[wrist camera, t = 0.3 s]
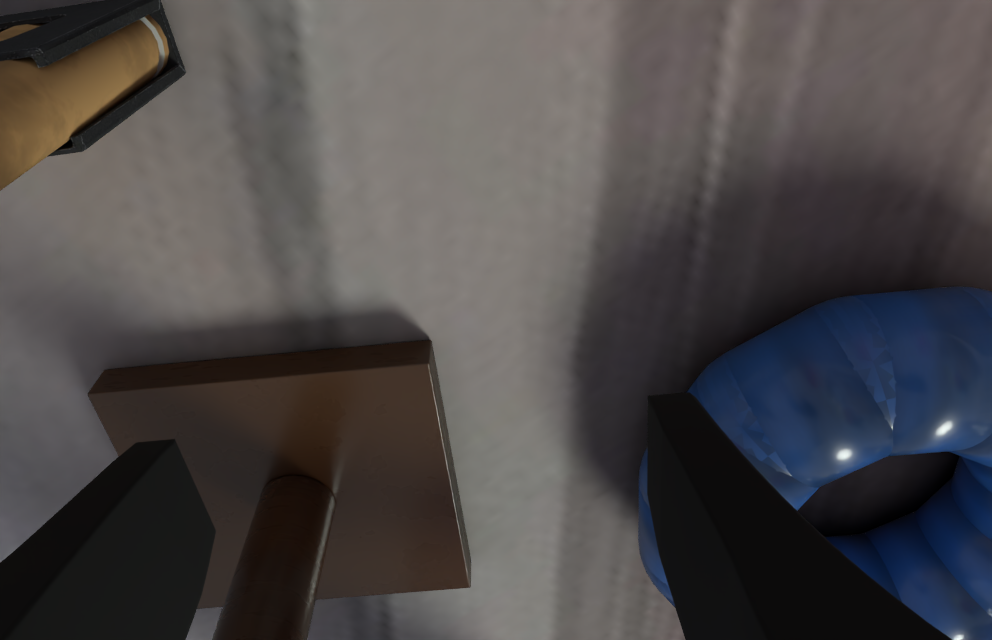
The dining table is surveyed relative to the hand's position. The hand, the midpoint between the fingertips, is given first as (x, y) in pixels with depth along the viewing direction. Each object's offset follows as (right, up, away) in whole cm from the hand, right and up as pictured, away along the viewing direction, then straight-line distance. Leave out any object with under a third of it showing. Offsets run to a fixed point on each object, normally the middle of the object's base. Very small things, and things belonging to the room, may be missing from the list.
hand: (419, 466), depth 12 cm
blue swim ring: (+13, -3, +12) cm, 18 cm away
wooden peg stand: (-5, -3, +14) cm, 15 cm away
